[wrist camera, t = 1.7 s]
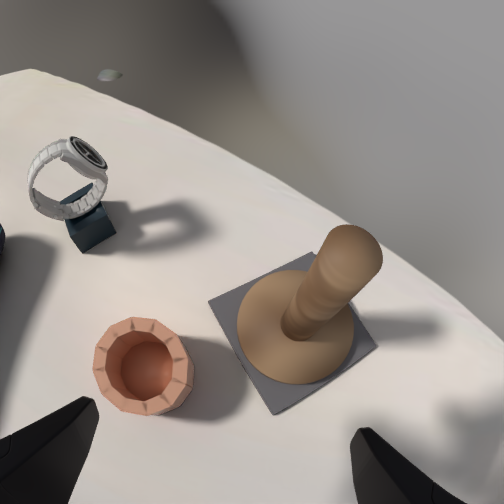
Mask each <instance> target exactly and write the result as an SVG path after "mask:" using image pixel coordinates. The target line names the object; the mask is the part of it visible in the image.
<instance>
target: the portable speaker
mask: <svg viewBox="0 0 504 504" xmlns="http://www.w3.org/2000/svg"><path fill="white" fill-rule="evenodd" d="M4 242H5V232H4V229H3V227H2V226H1V224H0V254H1V252H2V249H3V247H4Z"/></svg>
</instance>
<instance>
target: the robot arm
mask: <svg viewBox="0 0 504 504" xmlns="http://www.w3.org/2000/svg"><path fill="white" fill-rule="evenodd" d="M98 421H99V412H98V409H97V406H96V403H95V401H94V400H93V399H92V398H89V397H86V396H82V397H80V398H78V399H77V400H75V401H73V402H71V403H69V404H68V405H66V406H64V407H62V408H60V409H58V410H57V411H55V412H53V413H51V414H49V415H47V416H45V417H44V418H42V419H40V420H38V421H36V422H34V423H32V424H30V425H28V426H26V427H24V428H22V429H21V430H19V431H17V432H15V433H13V434H12V435H8V436H6V437H4V438H2V439H0V504H68V502H69V499H70V497H71V494H72V492H73V489H74V487H75V484H76V482H77V479H78V477H79V475H80V472H81V470H82V467H83V465H84V463H85V460H86V458H87V456H88V453H89V450H90V447H91V444H92V441H93V437H94V434H95V431H96V427H97V424H98ZM350 453H351V462H352V473H353V482H354V487H355V492H356V496H357V501H358V504H467V503H465V502H463V501H461V500H460V499H458V498H456V497H455V496H453V495H452V494H450V493H449V492H447V491H446V490H445V489H443V488H442V487H440V486H439V485H438V484H437V483H435V482H433V480H432V479H430V478H429V477H428V476H427V475H425V474H424V473H423V472H422V471H420V470H419V469H418V468H417V467H416V466H414V465H413V464H412V463H411V462H410V461H408V460H407V459H406V458H405V457H404V456H403V455H401V454H400V453H399V452H398V451H397V450H395V449H394V448H393V447H392V446H391V445H390V444H389V443H387V442H386V441H385V440H384V439H383V438H382V437H381V436H379V435H378V434H377V433H376V432H375V431H374V430H373V429H371V428H370V427H365V428H359V429H358V430H357V431H356V433H355V435H354V437H353V439H352V441H351V443H350Z"/></svg>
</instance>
